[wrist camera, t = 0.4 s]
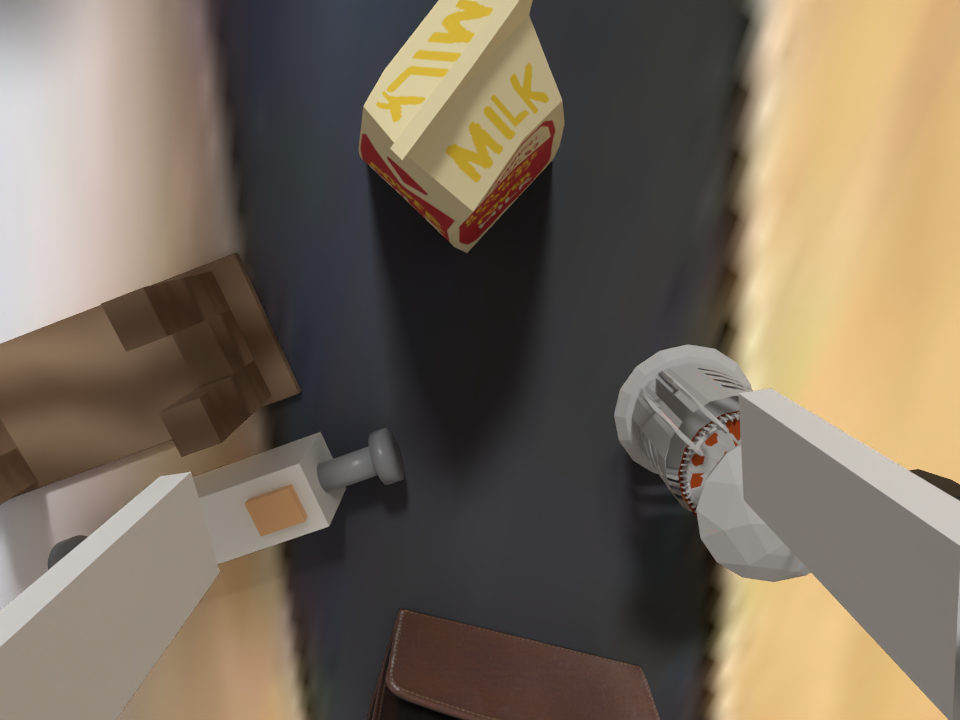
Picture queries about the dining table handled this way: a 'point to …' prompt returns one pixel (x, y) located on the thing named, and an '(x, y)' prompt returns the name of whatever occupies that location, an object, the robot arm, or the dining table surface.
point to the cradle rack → (138, 377)
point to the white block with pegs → (280, 493)
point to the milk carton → (464, 116)
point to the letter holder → (499, 677)
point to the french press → (701, 453)
